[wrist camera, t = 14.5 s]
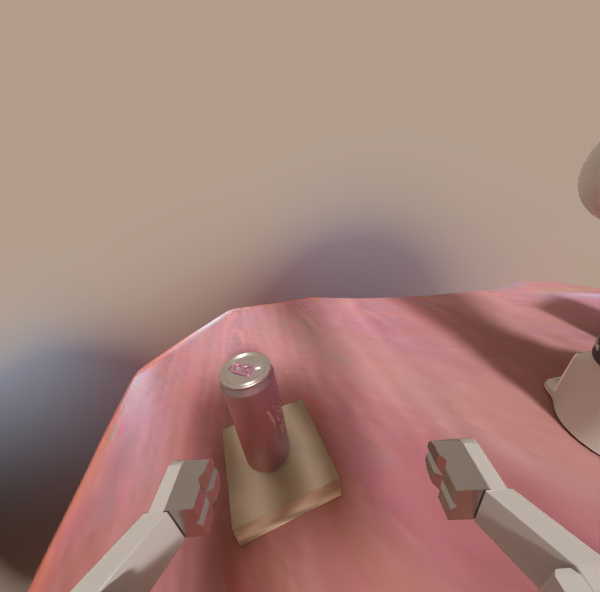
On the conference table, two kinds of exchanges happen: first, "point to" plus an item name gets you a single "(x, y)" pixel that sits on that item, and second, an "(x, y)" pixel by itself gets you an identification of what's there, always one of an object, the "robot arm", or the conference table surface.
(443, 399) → the conference table surface
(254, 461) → the beverage can
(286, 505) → the ash base block
